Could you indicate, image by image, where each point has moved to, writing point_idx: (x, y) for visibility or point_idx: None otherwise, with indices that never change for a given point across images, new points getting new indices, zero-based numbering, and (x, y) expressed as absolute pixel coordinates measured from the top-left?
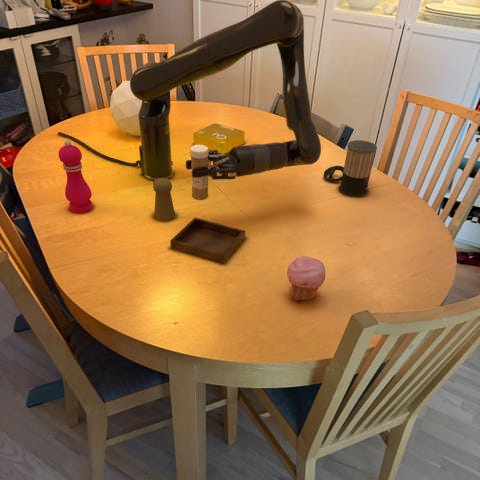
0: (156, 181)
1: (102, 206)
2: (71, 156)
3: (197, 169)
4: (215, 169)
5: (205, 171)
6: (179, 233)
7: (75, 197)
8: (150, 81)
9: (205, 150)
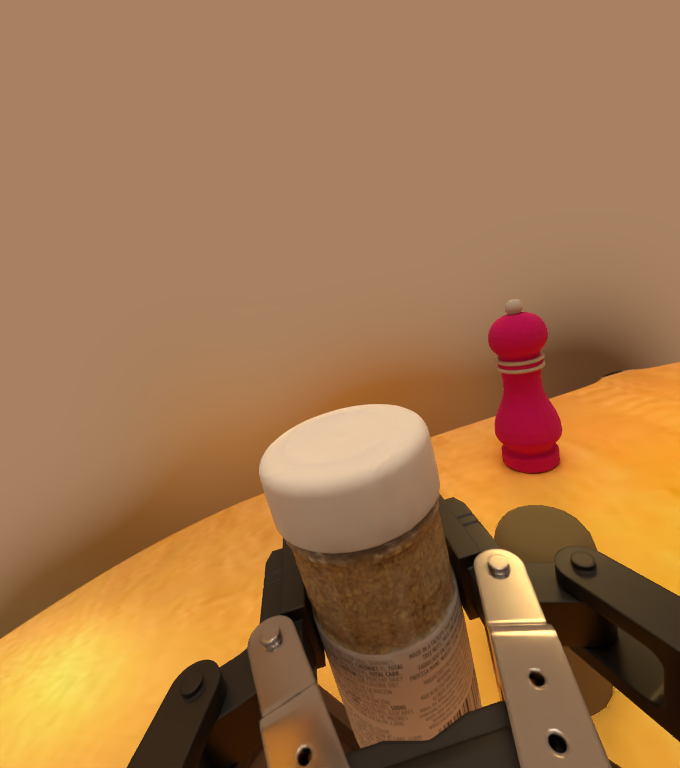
0: (526, 508)
1: (555, 487)
2: (492, 335)
3: (284, 554)
4: (188, 701)
5: (261, 620)
6: (328, 702)
7: (495, 425)
8: None
9: (267, 474)
